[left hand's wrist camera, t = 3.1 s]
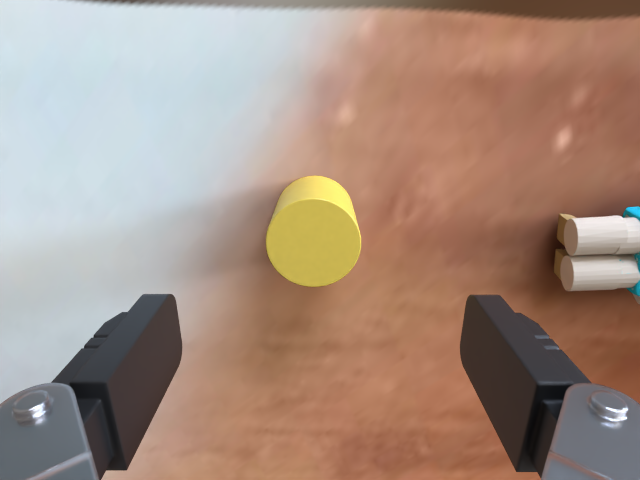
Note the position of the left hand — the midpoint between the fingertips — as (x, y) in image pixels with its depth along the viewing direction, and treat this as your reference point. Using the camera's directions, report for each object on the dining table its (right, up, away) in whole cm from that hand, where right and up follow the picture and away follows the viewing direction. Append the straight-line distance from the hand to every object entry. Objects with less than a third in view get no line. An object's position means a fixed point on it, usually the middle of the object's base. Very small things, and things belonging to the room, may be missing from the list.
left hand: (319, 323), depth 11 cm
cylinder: (0, +4, +10) cm, 10 cm away
